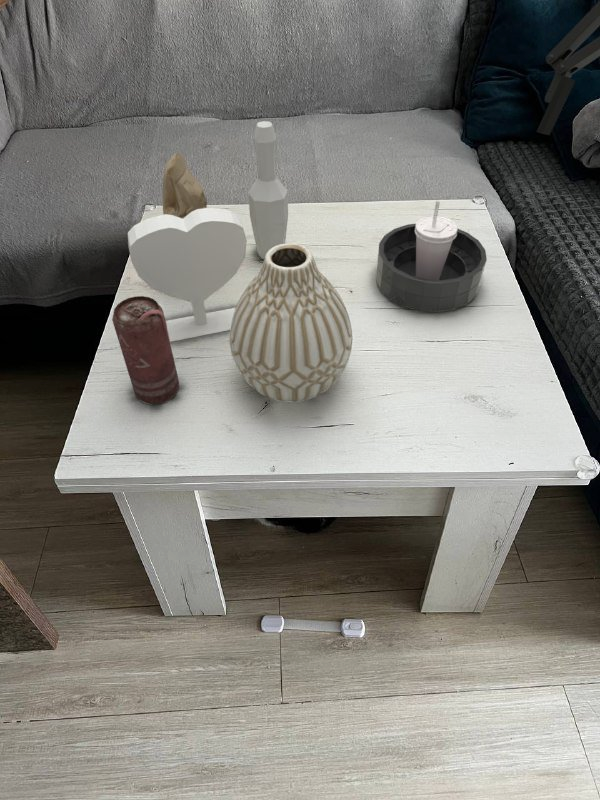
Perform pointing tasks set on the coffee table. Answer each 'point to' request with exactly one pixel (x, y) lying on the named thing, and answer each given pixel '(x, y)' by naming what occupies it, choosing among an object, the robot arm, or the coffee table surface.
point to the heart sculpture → (190, 263)
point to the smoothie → (433, 244)
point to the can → (146, 349)
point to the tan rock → (181, 189)
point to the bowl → (429, 294)
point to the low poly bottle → (267, 194)
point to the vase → (290, 328)
